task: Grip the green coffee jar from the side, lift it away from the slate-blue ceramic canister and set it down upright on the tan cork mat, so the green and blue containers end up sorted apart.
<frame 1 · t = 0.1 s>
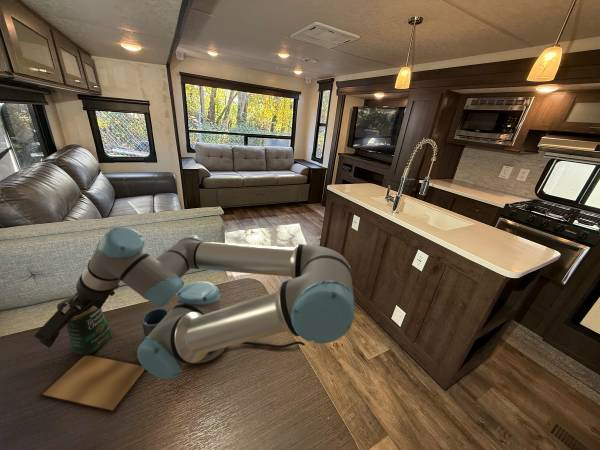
hand: (73, 322, 66), 16 cm above the table, tool tilted 35°, fingers open, 13 cm apart
coffee jar: (94, 343, 79), on the table, touching cork mat, gripper
cork mat: (98, 380, 68), on the table
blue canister: (160, 342, 81), on the table
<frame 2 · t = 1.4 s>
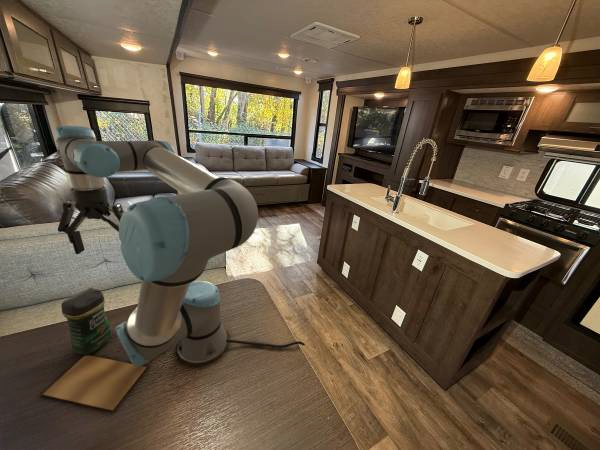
hand: (104, 253, 76), 28 cm above the table, tool pointing down, fingers open, 13 cm apart
coffee jar: (94, 343, 79), on the table, touching cork mat
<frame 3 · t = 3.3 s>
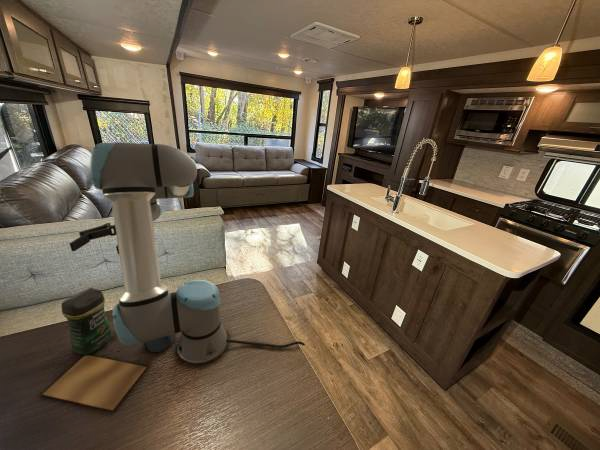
hand: (94, 248, 76), 29 cm above the table, tool horizontal, fingers open, 13 cm apart
nothing on the table moved.
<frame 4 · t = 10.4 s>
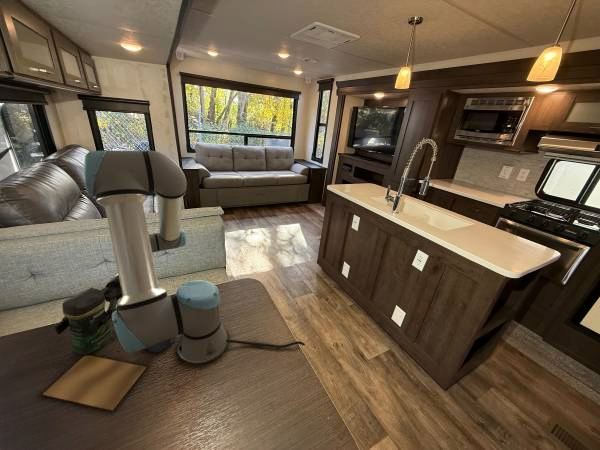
hand: (73, 331, 70), 11 cm above the table, tool horizontal, fingers closed on coffee jar, 8 cm apart
coffee jar: (94, 343, 79), on the table, touching cork mat, gripper
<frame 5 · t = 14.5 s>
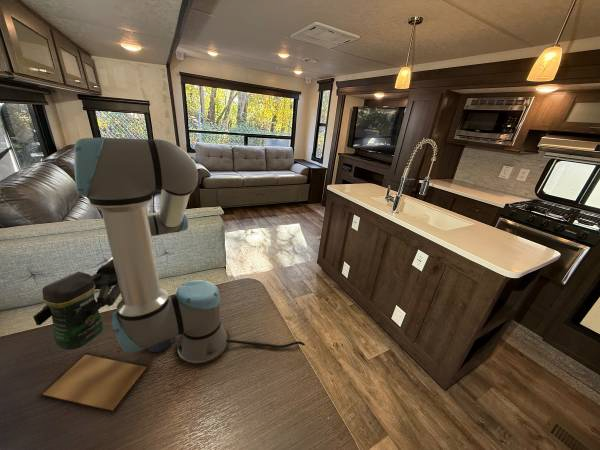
hand: (56, 321, 59), 22 cm above the table, tool horizontal, fingers closed on coffee jar, 8 cm apart
coffee jar: (82, 337, 68), point 11 cm above the table, touching gripper
when the fingers open (11 cm above the table, at t = 18.6 s): coffee jar stays where it is, resting on cork mat.
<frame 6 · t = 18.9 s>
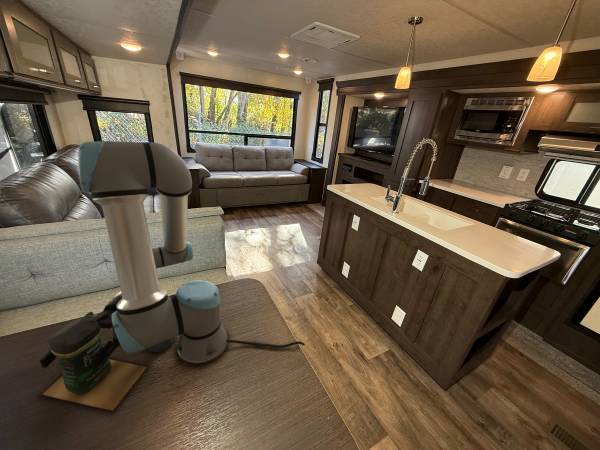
hand: (68, 365, 61), 11 cm above the table, tool horizontal, fingers open, 11 cm apart
coffee jar: (91, 378, 69), resting on cork mat
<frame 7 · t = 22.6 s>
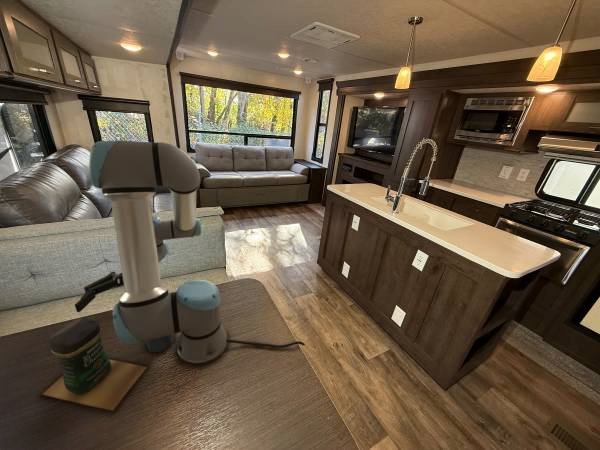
hand: (100, 309, 71), 16 cm above the table, tool horizontal, fingers open, 12 cm apart
nothing on the table moved.
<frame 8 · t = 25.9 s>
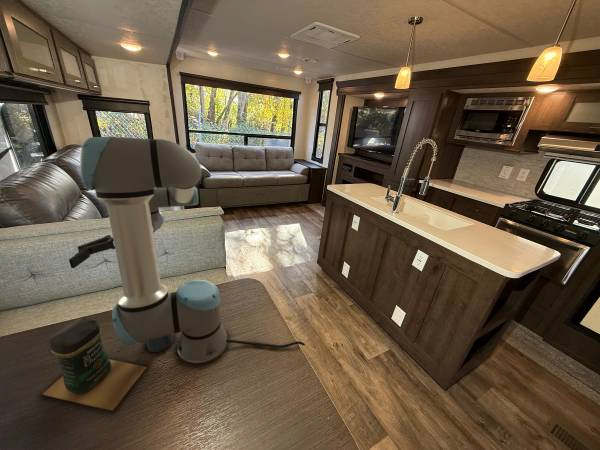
hand: (98, 264, 68), 30 cm above the table, tool horizontal, fingers open, 13 cm apart
nothing on the table moved.
at the end: coffee jar inside the target area (1.3 cm from its centre), resting on cork mat; coffee jar tilted 0°; the gripper is holding nothing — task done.
